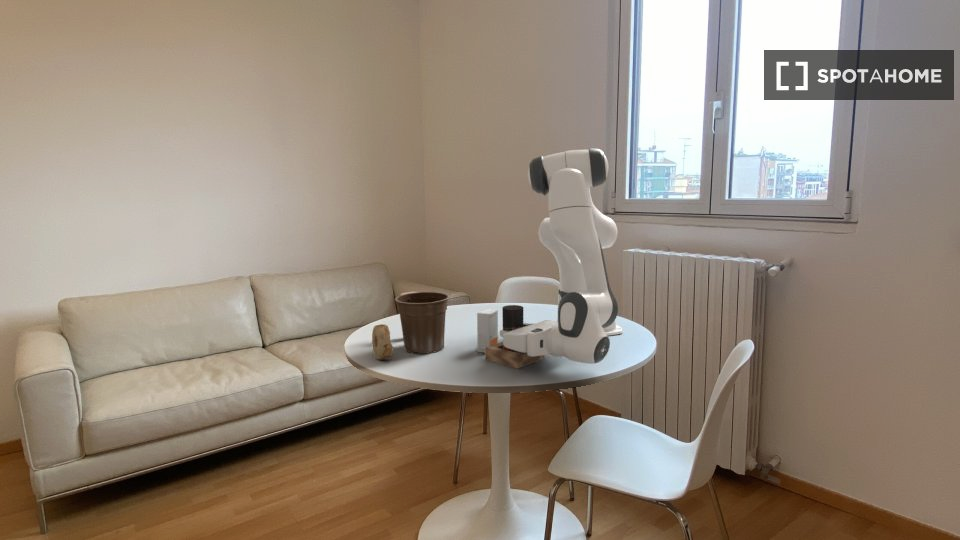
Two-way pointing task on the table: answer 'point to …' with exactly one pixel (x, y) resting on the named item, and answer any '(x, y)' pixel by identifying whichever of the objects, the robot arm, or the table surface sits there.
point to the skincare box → (487, 329)
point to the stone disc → (381, 342)
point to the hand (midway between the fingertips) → (512, 329)
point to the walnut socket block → (509, 356)
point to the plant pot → (423, 320)
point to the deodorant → (512, 319)
